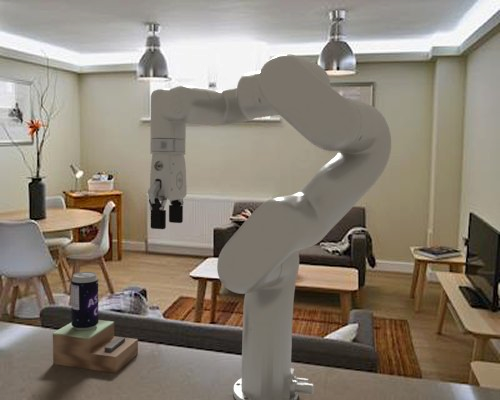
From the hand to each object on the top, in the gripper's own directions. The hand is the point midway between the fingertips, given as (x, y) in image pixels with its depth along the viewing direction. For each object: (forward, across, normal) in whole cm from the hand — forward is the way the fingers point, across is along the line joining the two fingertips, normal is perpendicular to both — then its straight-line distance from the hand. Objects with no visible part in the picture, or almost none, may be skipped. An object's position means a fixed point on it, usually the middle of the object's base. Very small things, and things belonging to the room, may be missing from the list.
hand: (167, 225), depth 104 cm
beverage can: (+24, -5, +17) cm, 30 cm away
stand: (+30, -5, +14) cm, 34 cm away
